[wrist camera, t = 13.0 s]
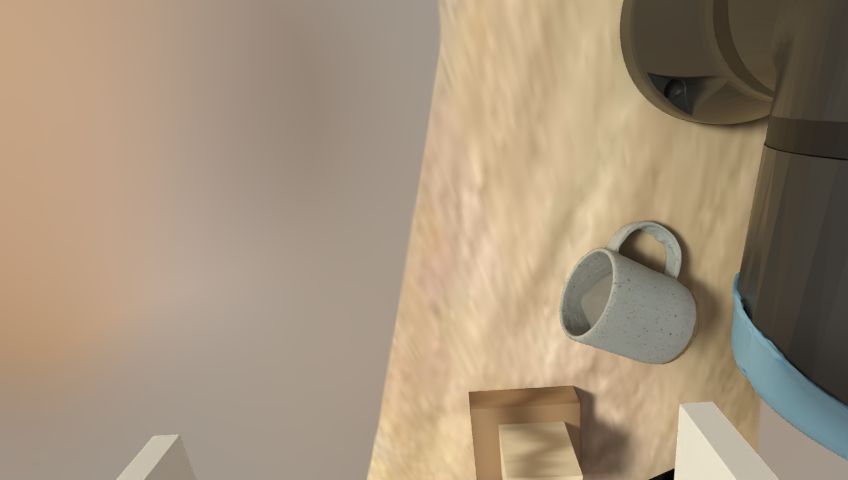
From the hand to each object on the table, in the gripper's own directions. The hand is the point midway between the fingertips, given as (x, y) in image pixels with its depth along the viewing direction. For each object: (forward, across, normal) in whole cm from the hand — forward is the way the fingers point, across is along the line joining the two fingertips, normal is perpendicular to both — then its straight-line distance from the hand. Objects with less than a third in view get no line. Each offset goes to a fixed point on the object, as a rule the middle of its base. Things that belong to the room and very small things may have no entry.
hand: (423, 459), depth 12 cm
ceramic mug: (+27, +14, -8) cm, 32 cm away
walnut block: (+27, +6, -24) cm, 37 cm away
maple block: (+24, +6, -24) cm, 35 cm away
